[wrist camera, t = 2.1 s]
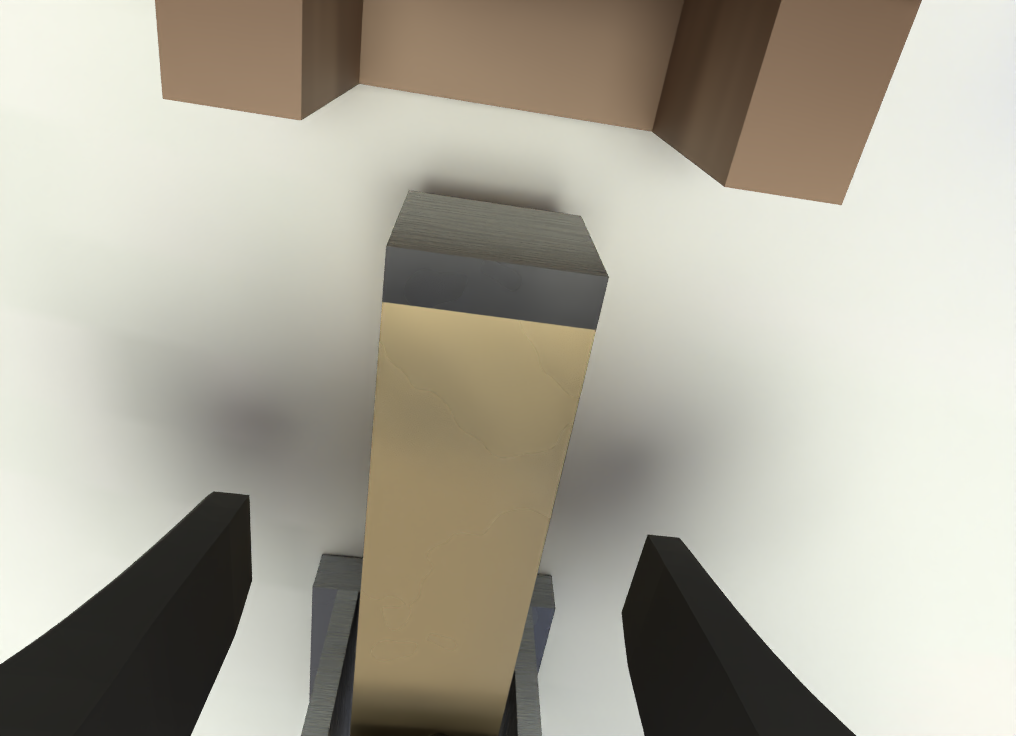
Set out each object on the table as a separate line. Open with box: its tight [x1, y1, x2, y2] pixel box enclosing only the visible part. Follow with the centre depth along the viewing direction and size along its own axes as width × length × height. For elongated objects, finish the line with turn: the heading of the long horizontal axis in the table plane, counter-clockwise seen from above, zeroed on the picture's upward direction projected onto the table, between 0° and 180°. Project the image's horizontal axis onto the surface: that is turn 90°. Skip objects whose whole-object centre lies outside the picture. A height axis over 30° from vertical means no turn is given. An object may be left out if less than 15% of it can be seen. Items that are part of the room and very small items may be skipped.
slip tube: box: [350, 191, 609, 736], centre depth 14 cm, size 14×3×3 cm, turn 171°
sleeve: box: [301, 555, 555, 736], centre depth 17 cm, size 6×6×5 cm
